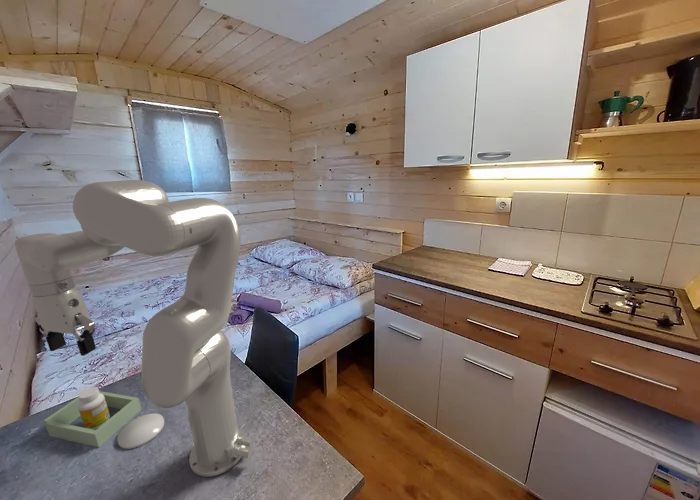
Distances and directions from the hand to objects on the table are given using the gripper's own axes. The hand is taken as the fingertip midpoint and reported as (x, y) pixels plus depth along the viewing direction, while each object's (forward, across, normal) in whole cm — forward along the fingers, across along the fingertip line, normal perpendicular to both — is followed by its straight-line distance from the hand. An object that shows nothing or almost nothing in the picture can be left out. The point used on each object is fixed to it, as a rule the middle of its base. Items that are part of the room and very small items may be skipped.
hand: (73, 350), depth 75 cm
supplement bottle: (+23, 0, 0) cm, 23 cm away
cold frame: (+22, 0, 0) cm, 22 cm away
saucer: (+22, -15, 0) cm, 27 cm away
